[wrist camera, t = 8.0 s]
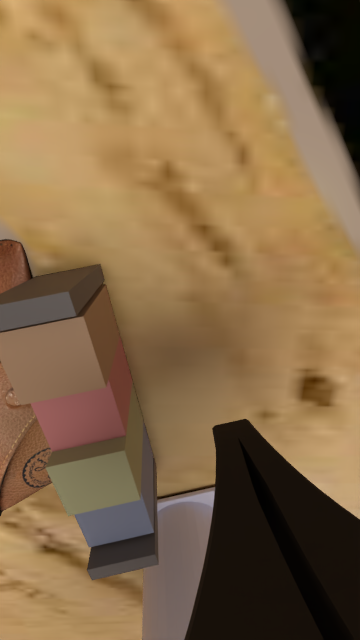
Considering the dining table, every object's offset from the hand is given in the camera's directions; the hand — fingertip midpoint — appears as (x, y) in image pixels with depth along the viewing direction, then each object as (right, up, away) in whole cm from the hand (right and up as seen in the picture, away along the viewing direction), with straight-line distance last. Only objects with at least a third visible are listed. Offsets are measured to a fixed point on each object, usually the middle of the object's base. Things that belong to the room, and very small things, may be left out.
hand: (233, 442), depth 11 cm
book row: (-7, 0, +9) cm, 12 cm away
